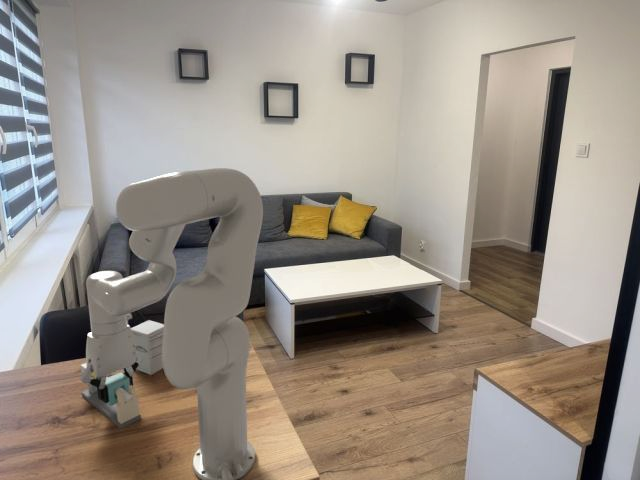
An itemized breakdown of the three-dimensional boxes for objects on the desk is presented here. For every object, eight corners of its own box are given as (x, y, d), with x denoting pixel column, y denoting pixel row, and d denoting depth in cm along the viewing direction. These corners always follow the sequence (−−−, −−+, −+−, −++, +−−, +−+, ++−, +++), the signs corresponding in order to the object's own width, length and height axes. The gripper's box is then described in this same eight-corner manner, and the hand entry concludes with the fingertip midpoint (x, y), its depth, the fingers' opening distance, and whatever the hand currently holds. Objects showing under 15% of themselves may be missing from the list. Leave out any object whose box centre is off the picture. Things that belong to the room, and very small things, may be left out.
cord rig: (141, 418, 104) (138, 386, 102) (120, 428, 101) (117, 395, 99) (101, 387, 117) (98, 358, 115) (82, 395, 113) (78, 365, 111)
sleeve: (131, 396, 106) (129, 378, 105) (110, 406, 102) (108, 387, 101) (122, 390, 108) (121, 372, 107) (102, 399, 105) (100, 380, 104)
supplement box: (132, 369, 126) (128, 328, 123) (152, 358, 132) (149, 319, 129) (150, 376, 123) (147, 334, 120) (170, 364, 129) (168, 324, 126)
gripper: (136, 309, 110) (141, 375, 114) (62, 332, 97) (71, 405, 101) (152, 318, 105) (157, 386, 109) (77, 342, 92) (86, 418, 96)
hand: (116, 394), depth 105 cm, fingers closed on sleeve, 5 cm apart
